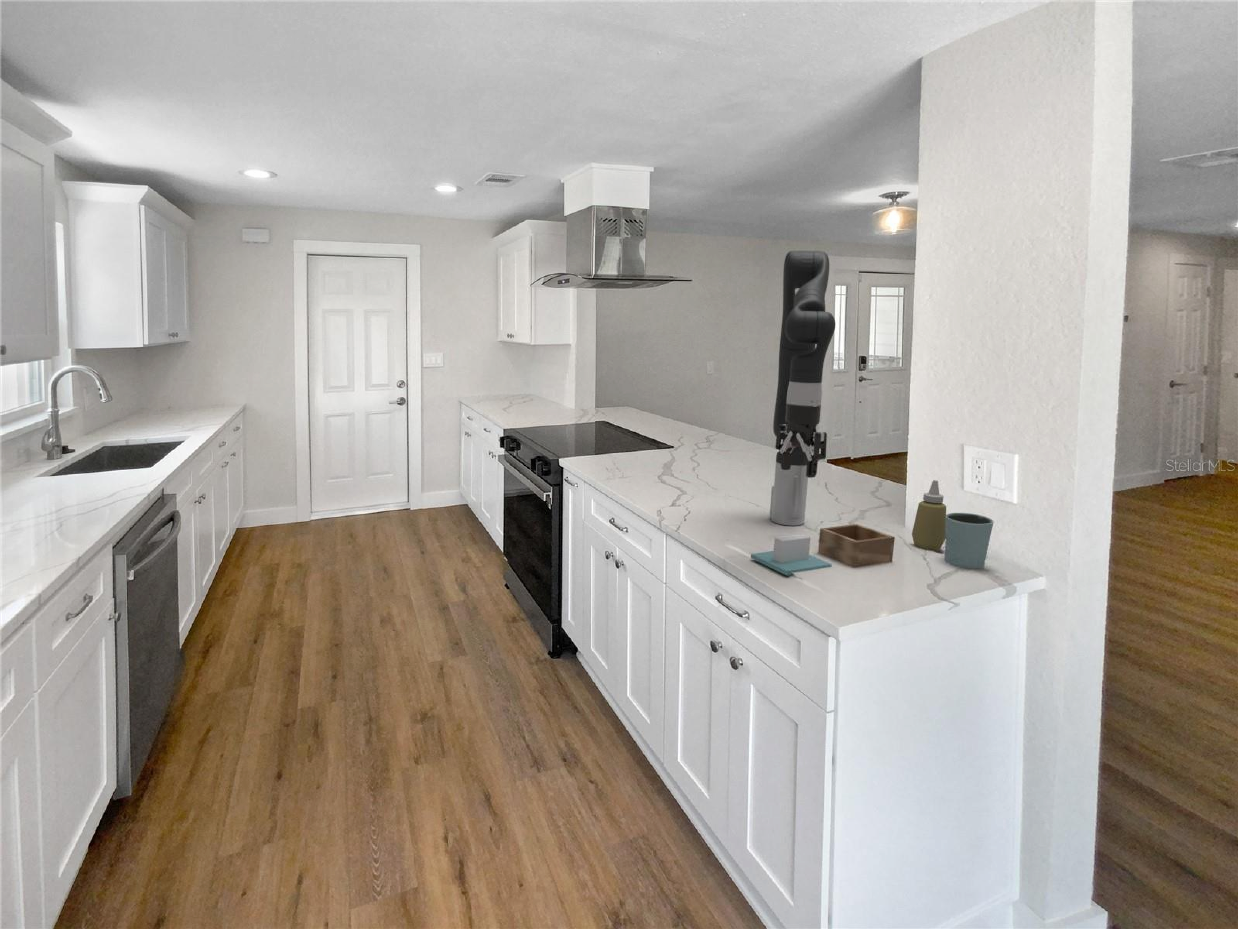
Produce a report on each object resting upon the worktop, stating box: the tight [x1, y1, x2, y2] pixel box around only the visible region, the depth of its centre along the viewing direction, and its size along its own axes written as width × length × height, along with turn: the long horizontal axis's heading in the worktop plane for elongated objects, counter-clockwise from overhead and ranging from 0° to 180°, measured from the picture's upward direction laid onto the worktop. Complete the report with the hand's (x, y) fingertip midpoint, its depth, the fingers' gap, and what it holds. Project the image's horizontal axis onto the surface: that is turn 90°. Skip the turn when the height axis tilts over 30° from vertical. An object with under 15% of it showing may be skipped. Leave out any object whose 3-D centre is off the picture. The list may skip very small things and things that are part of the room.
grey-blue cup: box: [944, 512, 995, 570], centre depth 170 cm, size 10×10×12 cm
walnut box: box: [817, 523, 896, 569], centre depth 172 cm, size 12×12×7 cm
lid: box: [750, 533, 832, 576], centre depth 167 cm, size 13×13×7 cm
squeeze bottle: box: [911, 479, 947, 553], centre depth 182 cm, size 8×8×18 cm
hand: (797, 473), depth 163 cm, fingers open, 8 cm apart
